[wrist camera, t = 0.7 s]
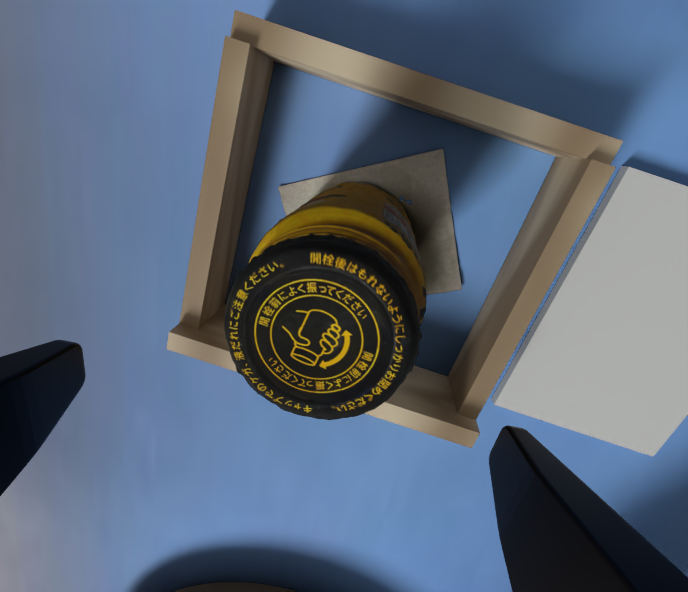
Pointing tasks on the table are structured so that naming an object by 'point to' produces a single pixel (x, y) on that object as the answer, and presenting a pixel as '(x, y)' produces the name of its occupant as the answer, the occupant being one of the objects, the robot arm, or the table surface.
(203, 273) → the pine frame
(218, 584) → the plant saucer
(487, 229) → the table surface
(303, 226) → the condiment
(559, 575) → the robot arm
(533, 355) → the grey mat
